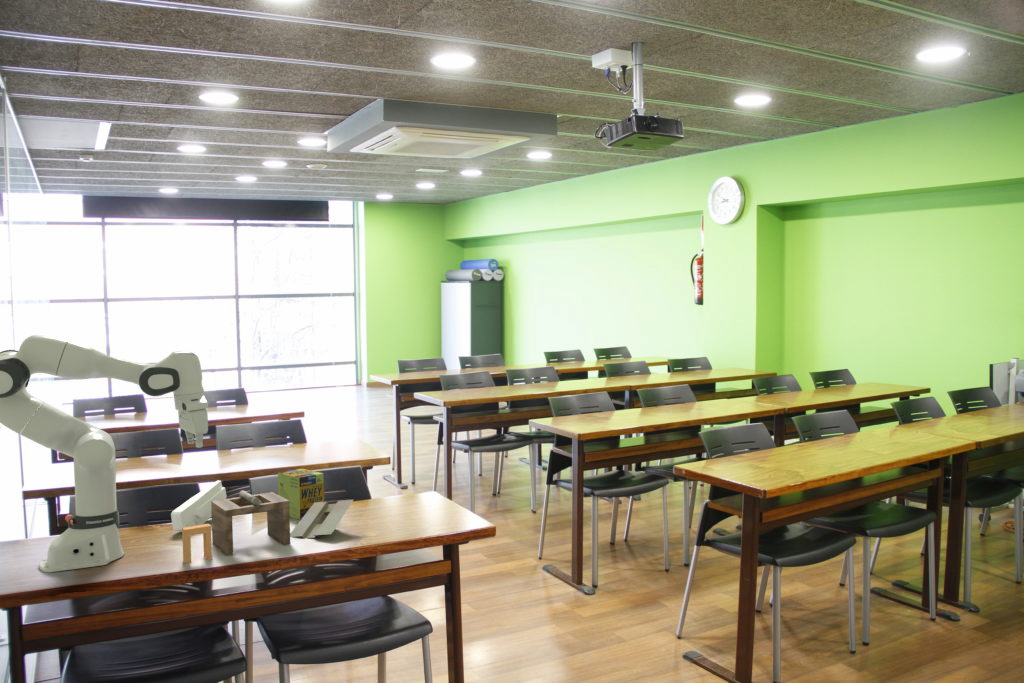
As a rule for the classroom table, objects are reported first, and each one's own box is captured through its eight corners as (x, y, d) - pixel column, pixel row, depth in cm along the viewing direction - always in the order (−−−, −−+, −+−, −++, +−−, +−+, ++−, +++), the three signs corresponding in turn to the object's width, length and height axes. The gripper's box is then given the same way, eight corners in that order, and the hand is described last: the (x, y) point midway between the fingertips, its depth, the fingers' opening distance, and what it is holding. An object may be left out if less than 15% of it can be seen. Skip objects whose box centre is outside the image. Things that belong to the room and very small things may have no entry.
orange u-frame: (185, 563, 231) (184, 530, 230) (183, 560, 233) (182, 527, 233) (212, 558, 235) (211, 525, 235) (209, 555, 238) (208, 523, 237)
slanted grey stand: (347, 551, 255) (364, 508, 267) (331, 534, 250) (350, 491, 262) (303, 553, 263) (322, 512, 275) (287, 537, 258) (307, 495, 269)
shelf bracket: (231, 514, 289) (226, 480, 286) (189, 549, 264) (182, 513, 261) (217, 513, 291) (212, 480, 288) (173, 549, 265) (167, 512, 262)
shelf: (226, 555, 237) (225, 504, 237) (212, 544, 250) (210, 494, 250) (290, 543, 249) (289, 494, 249) (273, 533, 262) (272, 486, 262)
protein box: (300, 520, 278) (299, 477, 278) (278, 513, 289) (277, 472, 288) (325, 514, 286) (324, 473, 285) (302, 508, 296) (301, 467, 296)
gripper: (171, 401, 249) (176, 443, 250) (188, 406, 233) (193, 451, 234) (191, 398, 253) (196, 439, 254) (209, 403, 236) (214, 447, 238)
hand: (195, 445), depth 244 cm, fingers open, 8 cm apart
